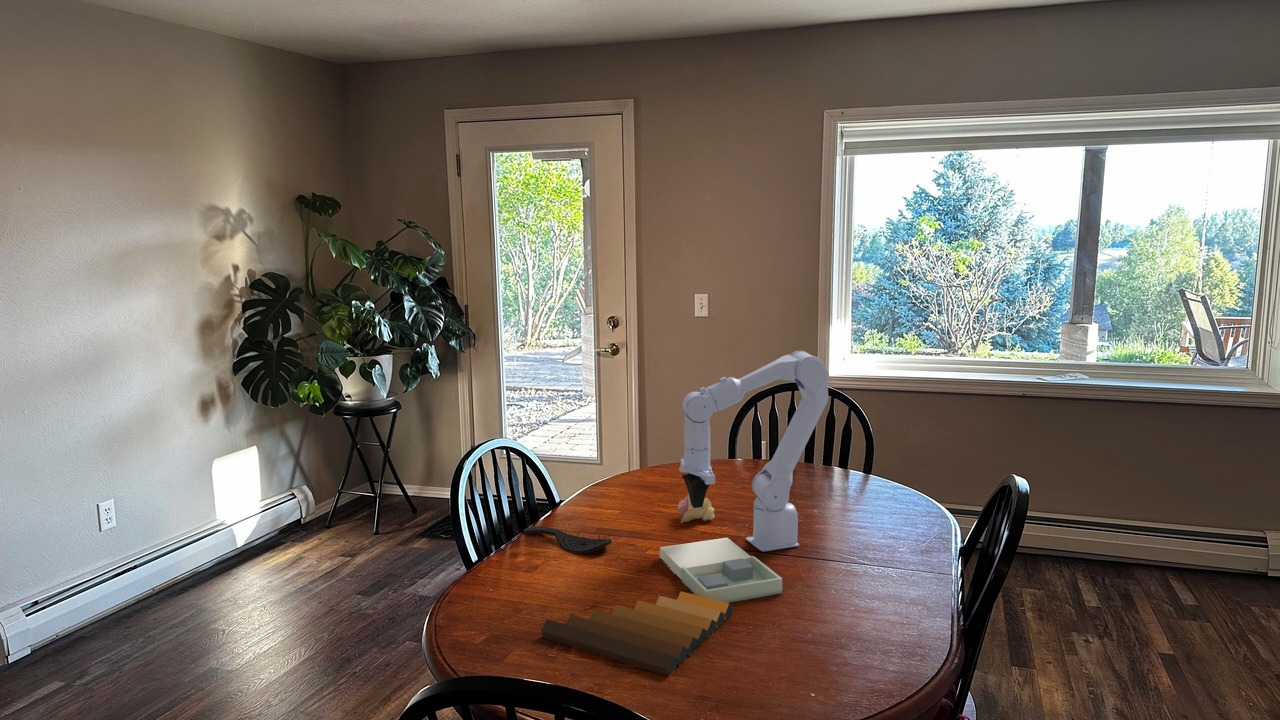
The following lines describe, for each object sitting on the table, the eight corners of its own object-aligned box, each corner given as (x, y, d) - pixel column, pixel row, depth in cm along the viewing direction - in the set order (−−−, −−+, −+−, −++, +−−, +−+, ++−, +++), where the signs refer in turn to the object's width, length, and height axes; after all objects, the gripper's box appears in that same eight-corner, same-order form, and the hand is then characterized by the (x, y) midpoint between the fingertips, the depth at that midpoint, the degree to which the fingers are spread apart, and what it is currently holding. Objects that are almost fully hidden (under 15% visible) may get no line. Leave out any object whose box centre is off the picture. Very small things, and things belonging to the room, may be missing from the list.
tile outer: (727, 583, 153) (727, 595, 154) (718, 573, 158) (718, 585, 158) (706, 586, 152) (706, 598, 152) (697, 576, 156) (697, 588, 157)
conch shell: (719, 517, 200) (725, 500, 192) (693, 543, 195) (697, 527, 187) (692, 493, 203) (697, 475, 195) (665, 518, 199) (669, 501, 191)
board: (727, 548, 178) (727, 537, 178) (752, 568, 167) (752, 557, 167) (659, 558, 173) (659, 547, 173) (681, 580, 162) (681, 568, 161)
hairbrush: (536, 515, 193) (619, 531, 179) (537, 530, 194) (620, 547, 179) (512, 526, 186) (596, 543, 172) (513, 541, 187) (597, 560, 172)
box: (753, 569, 167) (753, 555, 166) (782, 593, 156) (782, 578, 155) (681, 581, 161) (681, 567, 161) (705, 606, 150) (705, 591, 150)
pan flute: (541, 641, 139) (667, 681, 126) (540, 623, 138) (667, 661, 126) (618, 587, 160) (733, 616, 147) (618, 571, 160) (733, 599, 147)
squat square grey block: (742, 569, 165) (742, 558, 165) (752, 578, 161) (753, 566, 161) (722, 573, 164) (722, 561, 163) (732, 581, 160) (733, 569, 159)
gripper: (668, 440, 181) (668, 498, 183) (693, 457, 167) (693, 519, 169) (696, 438, 183) (696, 495, 185) (724, 454, 170) (723, 515, 172)
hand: (697, 506), depth 178 cm, fingers closed
